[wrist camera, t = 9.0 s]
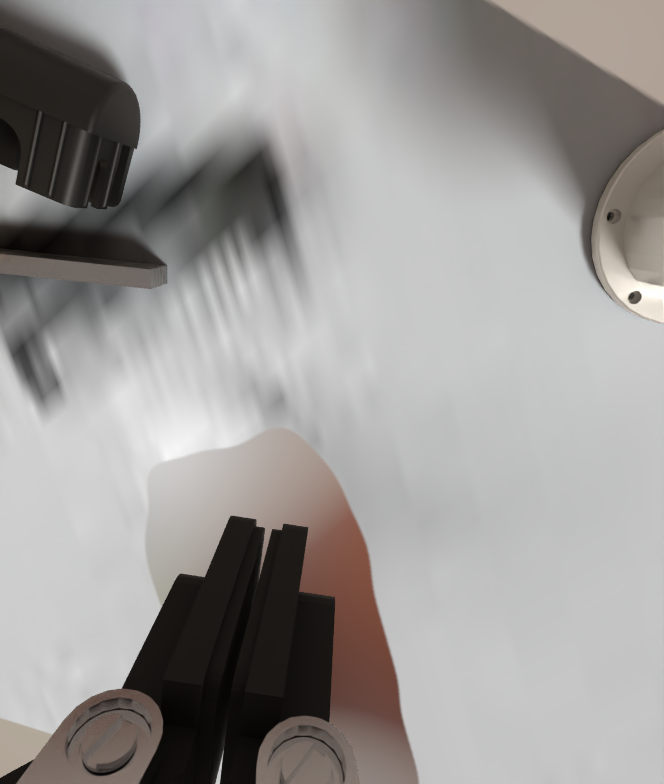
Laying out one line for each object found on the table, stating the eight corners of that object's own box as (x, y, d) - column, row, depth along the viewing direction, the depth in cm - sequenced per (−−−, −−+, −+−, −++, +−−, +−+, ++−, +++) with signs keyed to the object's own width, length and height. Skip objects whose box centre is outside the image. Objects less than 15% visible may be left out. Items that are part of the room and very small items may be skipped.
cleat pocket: (164, -43, 28) (143, -73, 26) (167, 283, 34) (151, 288, 32) (-47, -66, 28) (-91, -98, 25) (-7, 265, 34) (-39, 269, 31)
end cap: (155, 100, 31) (105, 69, 24) (125, 212, 33) (73, 210, 27) (-5, 28, 30) (-100, -24, 23) (-24, 149, 32) (-116, 131, 26)
